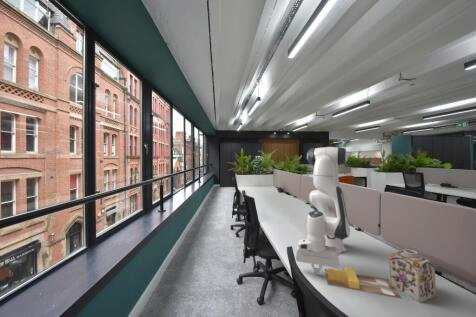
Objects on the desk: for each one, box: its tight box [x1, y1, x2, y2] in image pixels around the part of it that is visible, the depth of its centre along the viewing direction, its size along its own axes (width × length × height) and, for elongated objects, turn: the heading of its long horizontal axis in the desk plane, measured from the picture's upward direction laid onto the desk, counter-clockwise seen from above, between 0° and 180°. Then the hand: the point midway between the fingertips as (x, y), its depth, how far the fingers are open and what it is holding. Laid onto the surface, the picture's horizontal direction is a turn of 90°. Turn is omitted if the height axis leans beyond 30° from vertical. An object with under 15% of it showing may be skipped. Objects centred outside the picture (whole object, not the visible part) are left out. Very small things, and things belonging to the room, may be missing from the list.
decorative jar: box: [388, 248, 437, 304], centre depth 86 cm, size 12×12×18 cm
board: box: [324, 268, 403, 300], centre depth 90 cm, size 14×28×1 cm, turn 71°
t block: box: [327, 266, 360, 289], centre depth 93 cm, size 12×12×3 cm
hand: (316, 272), depth 97 cm, fingers closed
